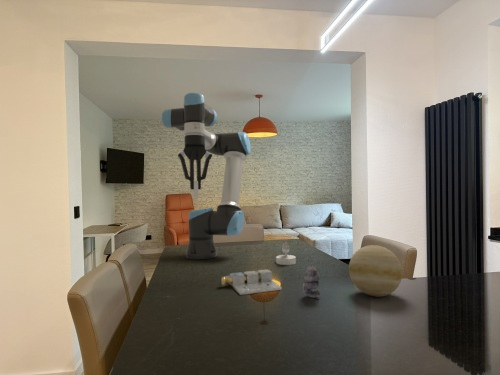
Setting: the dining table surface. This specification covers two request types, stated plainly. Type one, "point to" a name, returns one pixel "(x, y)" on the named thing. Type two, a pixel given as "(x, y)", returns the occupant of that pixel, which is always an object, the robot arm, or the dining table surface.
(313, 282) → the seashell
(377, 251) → the decorative ball
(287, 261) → the wall hook
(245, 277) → the pin
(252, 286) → the hinge leaves
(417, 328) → the dining table surface
